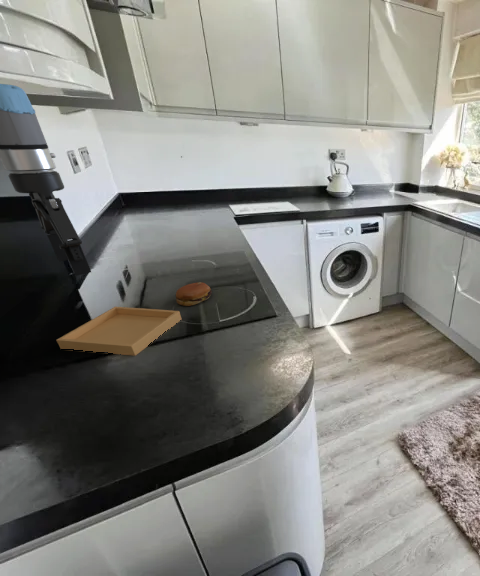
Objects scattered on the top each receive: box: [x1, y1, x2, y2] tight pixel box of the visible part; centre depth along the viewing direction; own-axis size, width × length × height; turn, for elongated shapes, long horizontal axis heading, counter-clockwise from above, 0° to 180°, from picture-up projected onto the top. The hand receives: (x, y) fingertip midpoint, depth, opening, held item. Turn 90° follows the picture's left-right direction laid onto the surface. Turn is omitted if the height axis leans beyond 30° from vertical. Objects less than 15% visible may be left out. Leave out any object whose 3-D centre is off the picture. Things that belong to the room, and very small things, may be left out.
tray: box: [56, 306, 182, 357], centre depth 84 cm, size 20×17×3 cm
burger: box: [175, 281, 213, 307], centre depth 101 cm, size 10×9×5 cm
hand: (74, 266), depth 76 cm, fingers open, 13 cm apart
